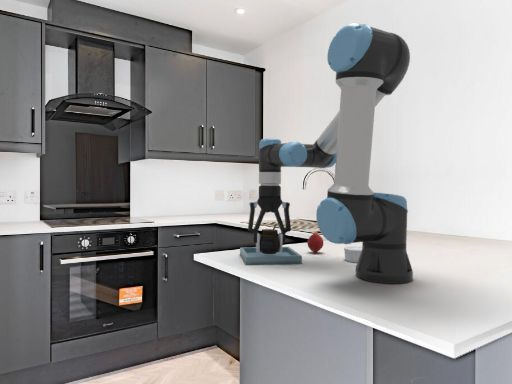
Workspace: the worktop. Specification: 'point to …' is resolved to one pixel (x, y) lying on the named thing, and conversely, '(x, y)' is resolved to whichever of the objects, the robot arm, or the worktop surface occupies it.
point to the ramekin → (352, 253)
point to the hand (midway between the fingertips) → (269, 252)
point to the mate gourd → (269, 241)
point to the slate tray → (270, 257)
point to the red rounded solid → (315, 242)
